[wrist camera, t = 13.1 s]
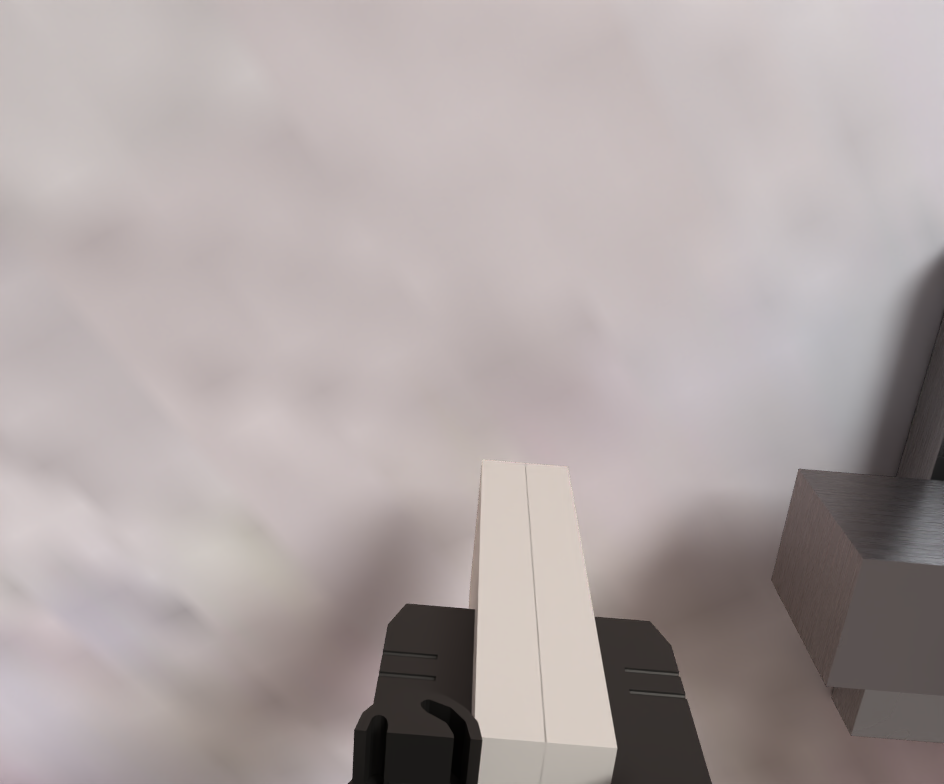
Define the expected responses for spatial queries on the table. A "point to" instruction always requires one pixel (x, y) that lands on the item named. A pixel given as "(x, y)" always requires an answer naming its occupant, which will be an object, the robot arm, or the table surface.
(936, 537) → the vise jaw
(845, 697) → the vise
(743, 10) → the table surface
